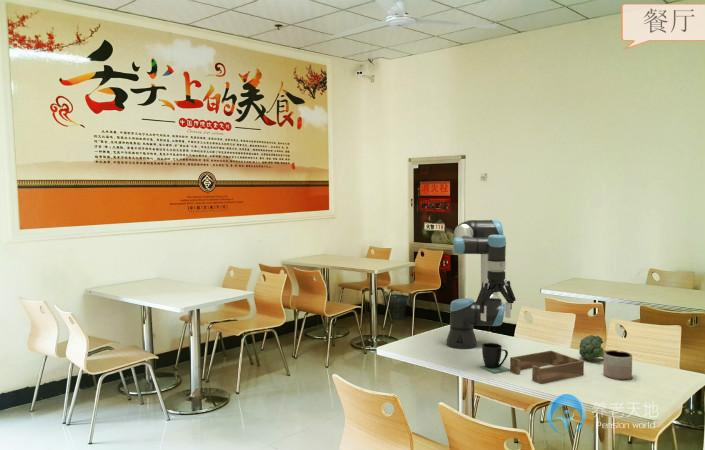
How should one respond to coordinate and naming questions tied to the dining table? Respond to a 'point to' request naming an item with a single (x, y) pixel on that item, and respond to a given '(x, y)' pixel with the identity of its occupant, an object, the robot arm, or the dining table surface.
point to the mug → (492, 355)
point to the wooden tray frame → (560, 370)
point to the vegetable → (591, 347)
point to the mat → (495, 369)
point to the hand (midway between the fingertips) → (495, 319)
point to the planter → (617, 365)
